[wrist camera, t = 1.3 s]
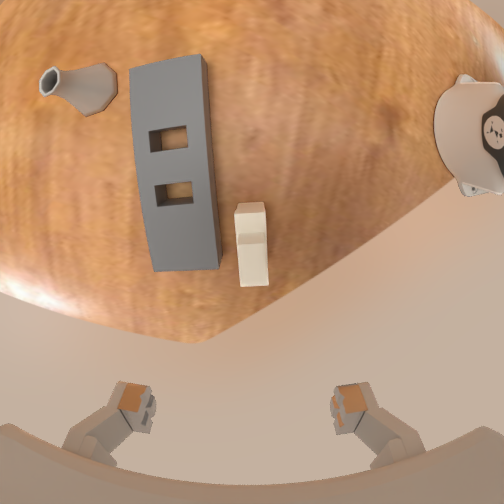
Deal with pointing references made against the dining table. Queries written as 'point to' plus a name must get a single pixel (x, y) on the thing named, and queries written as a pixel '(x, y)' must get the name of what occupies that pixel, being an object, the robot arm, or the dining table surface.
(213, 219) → the rail
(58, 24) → the dining table surface
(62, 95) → the flask
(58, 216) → the dining table surface
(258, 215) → the clip
